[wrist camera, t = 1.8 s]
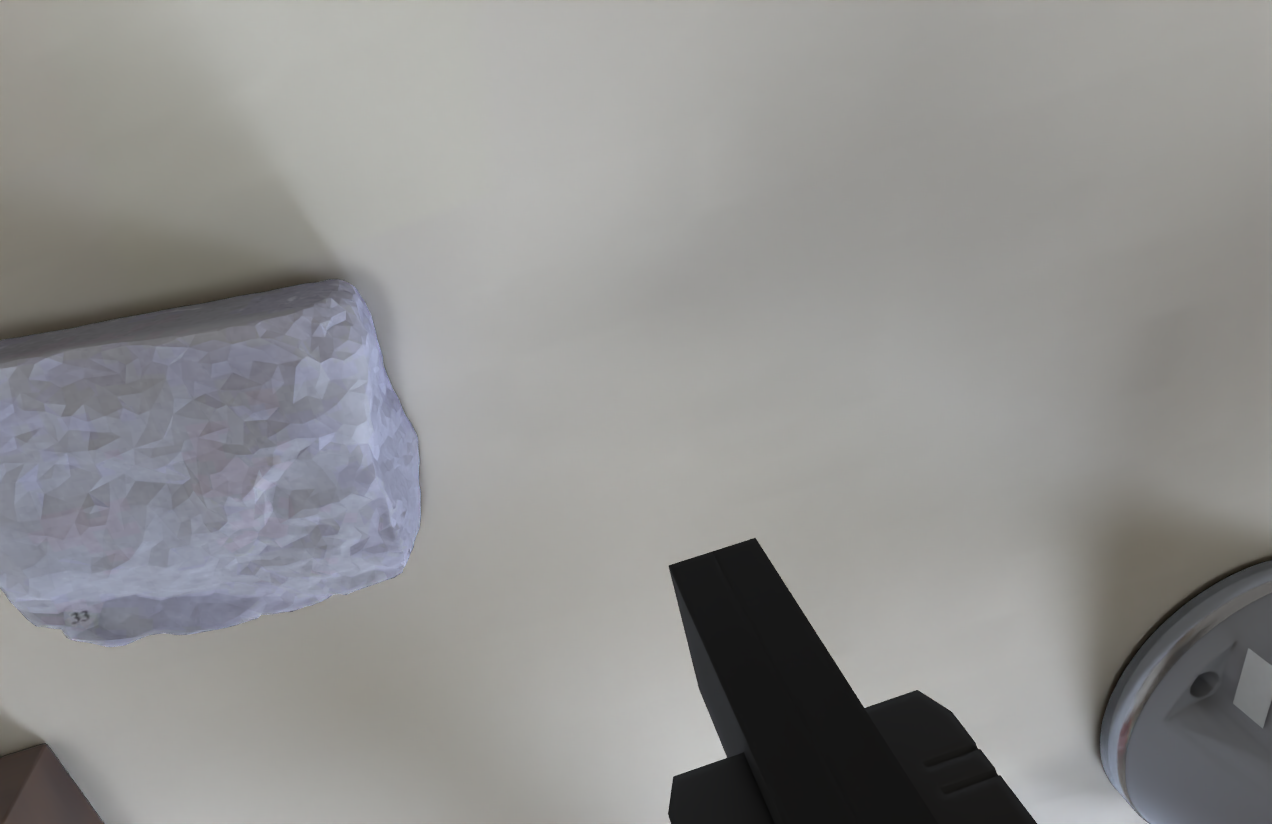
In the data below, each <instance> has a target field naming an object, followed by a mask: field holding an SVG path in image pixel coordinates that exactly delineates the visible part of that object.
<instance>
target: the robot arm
mask: <svg viewBox="0 0 1272 824" xmlns="http://www.w3.org/2000/svg"><path fill="white" fill-rule="evenodd" d="M669 569H670V573H671V577H672V581H673V585H674V589H675V593H676V597H677V601H678V606H679V610H680V614H681V618H682V622H683V626H684V630H685V634H686V638H687V642H688V646H689V650H690V654H691V658H692V662H693V666H694V670H695V674H696V678H697V682H698V686H699V690H700V692H701V694H702V697H703V699H704V702H705V704H706V707H707V709H708V711H709V714H710V716H711V719H712V721H713V724H714V726H715V729H716V731H717V733H718V736H719V738H720V741H721V743H722V746H723V748H724V751H725V753H726V755H727V758H726V759H723V760H720V761H717V762H714V763H711V764H709V765H706V766H703V767H700V768H697V769H694V770H691V771H688V772H685V773H682V774H680V775H677V776H674V777H673V783H672V790H671V797H670V804H669V811H668V815H669V818H670V821H671V824H1037V823H1036V822H1035V820H1034V819H1033V818H1032V816H1031V815H1030V814H1029V812H1028V811H1027V810H1026V808H1025V807H1024V806H1023V805H1022V803H1021V802H1020V801H1019V799H1018V798H1017V797H1016V795H1015V794H1014V793H1013V791H1012V790H1011V789H1010V788H1009V786H1008V785H1007V784H1006V782H1005V781H1004V780H1003V778H1002V777H1001V776H998V775H997V773H996V770H995V768H994V767H993V765H992V764H991V763H990V761H989V760H988V759H987V757H986V756H985V755H984V753H983V752H982V751H981V750H980V749H978V748H977V746H976V743H975V742H974V740H973V739H972V738H971V736H970V735H969V734H968V733H967V731H966V730H965V729H964V727H963V726H962V725H961V723H960V722H959V721H958V719H957V718H956V717H955V716H954V714H953V713H952V712H951V711H949V710H948V709H946V708H945V707H943V706H942V705H940V704H939V703H937V702H935V701H934V700H932V699H931V698H929V697H928V696H926V695H924V694H923V693H921V692H920V691H918V690H916V691H913V692H910V693H907V694H904V695H901V696H898V697H896V698H893V699H890V700H887V701H884V702H881V703H878V704H875V705H872V706H870V707H867V708H864V707H863V705H862V704H861V702H860V701H859V699H858V698H857V696H856V694H855V693H854V691H853V690H852V688H851V687H850V685H849V684H848V682H847V680H846V679H845V677H844V676H843V674H842V673H841V671H840V669H839V668H838V666H837V665H836V663H835V662H834V660H833V659H832V657H831V655H830V654H829V652H828V651H827V649H826V648H825V646H824V644H823V643H822V641H821V640H820V638H819V637H818V635H817V634H816V632H815V630H814V629H813V627H812V626H811V624H810V623H809V621H808V619H807V618H806V616H805V615H804V613H803V612H802V610H801V609H800V607H799V605H798V604H797V602H796V601H795V599H794V598H793V596H792V594H791V593H790V591H789V590H788V588H787V587H786V585H785V584H784V582H783V580H782V579H781V577H780V576H779V574H778V573H777V571H776V569H775V568H774V566H773V565H772V563H771V562H770V560H769V559H768V557H767V555H766V554H765V552H764V551H763V549H762V548H761V546H760V544H759V543H758V541H757V540H756V538H754V539H750V540H747V541H744V542H741V543H738V544H735V545H732V546H728V547H725V548H722V549H719V550H716V551H713V552H710V553H707V554H703V555H700V556H697V557H694V558H691V559H688V560H685V561H682V562H678V563H675V564H672V565H669ZM1100 755H1101V761H1102V765H1103V768H1104V771H1105V774H1106V776H1107V777H1108V779H1109V781H1110V783H1111V784H1112V785H1113V787H1114V788H1115V789H1116V790H1117V791H1118V792H1119V794H1120V795H1121V796H1122V797H1123V798H1124V799H1125V800H1126V801H1127V802H1128V804H1129V805H1130V806H1131V807H1132V808H1133V809H1134V810H1135V811H1136V812H1137V813H1138V815H1139V816H1141V817H1142V818H1143V819H1144V820H1145V821H1146V822H1148V823H1149V824H1272V560H1270V561H1267V562H1263V563H1260V564H1257V565H1254V566H1252V567H1249V568H1247V569H1244V570H1242V571H1240V572H1237V573H1235V574H1233V575H1231V576H1229V577H1227V578H1225V579H1223V580H1222V581H1220V582H1218V583H1216V584H1214V585H1213V586H1211V587H1210V588H1208V589H1206V590H1205V591H1203V592H1202V593H1200V594H1199V595H1197V596H1196V597H1195V598H1193V599H1192V600H1190V601H1189V602H1188V603H1186V604H1185V605H1184V606H1183V607H1181V608H1180V609H1179V610H1178V611H1176V612H1175V613H1174V614H1173V615H1172V616H1171V617H1170V618H1168V619H1167V620H1166V621H1165V622H1164V623H1163V624H1162V625H1161V626H1160V627H1159V628H1158V629H1157V630H1156V631H1155V632H1154V633H1153V634H1152V635H1151V636H1150V638H1149V639H1148V640H1147V641H1146V642H1145V643H1144V644H1143V646H1142V647H1141V648H1140V649H1139V651H1138V652H1137V653H1136V655H1135V656H1134V657H1133V659H1132V660H1131V662H1130V663H1129V664H1128V666H1127V667H1126V669H1125V671H1124V672H1123V674H1122V676H1121V677H1120V679H1119V681H1118V683H1117V685H1116V687H1115V689H1114V691H1113V692H1112V695H1111V697H1110V700H1109V702H1108V705H1107V708H1106V711H1105V714H1104V717H1103V722H1102V727H1101V733H1100Z"/></svg>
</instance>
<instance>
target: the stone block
mask: <svg viewBox="0 0 1272 824" xmlns="http://www.w3.org/2000/svg"><path fill="white" fill-rule="evenodd" d="M419 464H420V458H419V451H418V436H417V434H416V432H415V430H414V428H413V426H412V424H411V422H410V421H409V419H408V418H407V416H406V415H405V413H404V411H403V408H402V405H401V403H400V401H399V398H398V396H397V394H396V393H395V392H394V390H393V388H392V385H391V383H390V380H389V378H388V375H387V373H386V370H385V368H384V365H383V356H382V352H381V349H380V346H379V343H378V339H377V335H376V330H375V327H374V323H373V320H372V316H371V313H370V311H369V309H368V307H367V306H366V302H365V301H364V299H363V298H362V297H361V296H360V294H359V292H358V290H357V289H356V288H355V287H354V286H353V285H352V284H350V283H348V282H346V281H345V280H339V279H329V280H325V281H321V282H317V283H306V284H300V285H295V286H290V287H285V288H281V289H276V290H272V291H267V292H262V293H255V294H249V295H242V296H237V297H233V298H228V299H223V300H218V301H213V302H208V303H202V304H196V305H190V306H184V307H178V308H172V309H167V310H162V311H158V312H152V313H147V314H142V315H136V316H130V317H124V318H119V319H114V320H109V321H105V322H99V323H94V324H89V325H84V326H80V327H76V328H71V329H65V330H59V331H52V332H46V333H40V334H34V335H28V336H24V337H18V338H11V339H5V340H0V589H1V590H2V591H3V592H4V593H5V595H6V597H7V598H8V600H9V601H10V602H11V603H12V604H13V605H14V606H15V607H16V608H17V609H18V610H19V611H20V612H21V613H22V615H23V616H24V617H25V618H26V619H27V620H29V621H30V622H31V623H32V624H34V625H35V626H38V627H47V628H55V629H62V631H63V633H64V634H65V636H66V637H67V638H68V639H71V640H74V641H79V642H88V643H93V644H97V645H102V646H106V647H116V646H123V645H127V644H129V643H131V642H134V641H136V640H138V639H141V638H143V637H145V636H148V635H154V634H161V633H167V634H174V635H187V634H194V633H200V632H206V631H211V630H217V629H222V628H227V627H231V626H235V625H238V624H240V623H243V622H247V621H250V620H254V619H257V618H258V617H259V616H260V615H267V614H277V613H282V612H293V611H295V610H298V609H300V608H303V607H305V606H311V605H314V604H317V603H319V602H321V601H323V600H325V599H327V598H329V597H330V596H332V595H333V594H343V595H347V594H349V593H351V592H353V591H356V590H359V589H362V588H365V587H368V586H371V585H374V584H377V583H380V582H383V581H385V580H388V579H392V578H395V577H396V576H397V575H399V574H400V573H402V572H403V568H404V567H405V565H406V563H407V561H408V559H409V555H410V553H411V551H412V549H413V547H414V541H415V538H416V535H417V533H418V531H419V528H420V519H421V508H420V506H421V505H420V498H421V490H420V485H419Z"/></svg>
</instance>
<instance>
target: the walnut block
mask: <svg viewBox="0 0 1272 824" xmlns="http://www.w3.org/2000/svg"><path fill="white" fill-rule="evenodd" d="M0 824H104V822H103V821H102V820H101V818H100V817H99V815H98V814H97V813H96V811H95V810H94V809H93V807H92V806H91V804H90V803H89V802H88V800H87V799H86V797H85V796H84V795H83V793H82V792H81V791H80V789H79V788H78V786H77V785H76V784H75V782H74V781H73V779H72V778H71V777H70V775H69V774H68V773H67V771H66V770H65V768H64V767H63V766H62V764H61V763H60V761H59V760H58V759H57V757H56V756H55V754H54V753H53V752H52V750H51V749H50V748H49V746H48V745H47V744H41V745H38V746H35V747H32V748H28V749H25V750H22V751H19V752H16V753H13V754H9V755H6V756H3V757H0Z"/></svg>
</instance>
